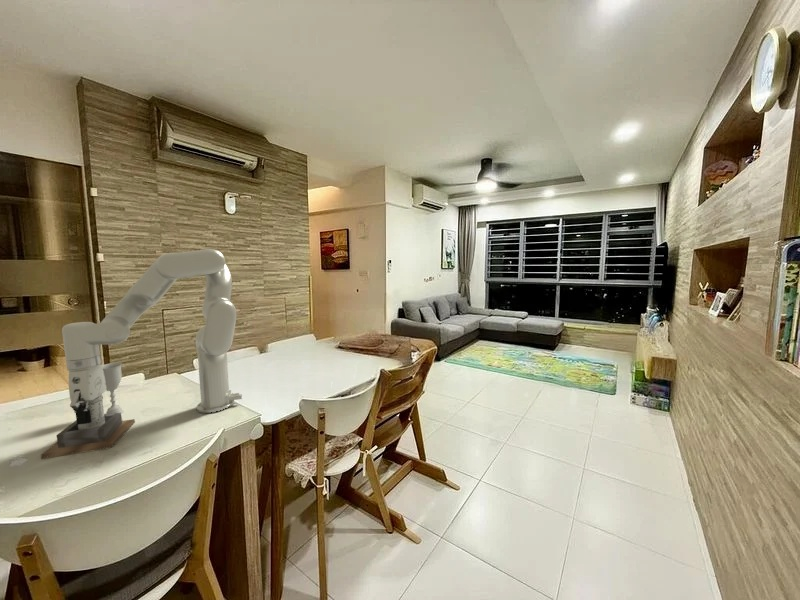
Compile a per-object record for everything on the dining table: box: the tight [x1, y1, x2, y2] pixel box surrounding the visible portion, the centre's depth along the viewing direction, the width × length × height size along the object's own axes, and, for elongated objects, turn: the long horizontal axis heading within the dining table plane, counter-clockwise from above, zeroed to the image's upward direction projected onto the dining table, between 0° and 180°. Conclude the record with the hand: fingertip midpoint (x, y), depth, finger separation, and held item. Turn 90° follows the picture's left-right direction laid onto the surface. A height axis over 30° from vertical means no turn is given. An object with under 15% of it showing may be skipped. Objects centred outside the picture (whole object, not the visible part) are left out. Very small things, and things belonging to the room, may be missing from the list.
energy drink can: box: [78, 391, 105, 430], centre depth 99 cm, size 6×6×15 cm
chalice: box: [101, 362, 124, 415], centre depth 116 cm, size 7×7×18 cm
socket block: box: [40, 413, 136, 459], centre depth 100 cm, size 16×16×5 cm
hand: (90, 417), depth 100 cm, fingers open, 6 cm apart
